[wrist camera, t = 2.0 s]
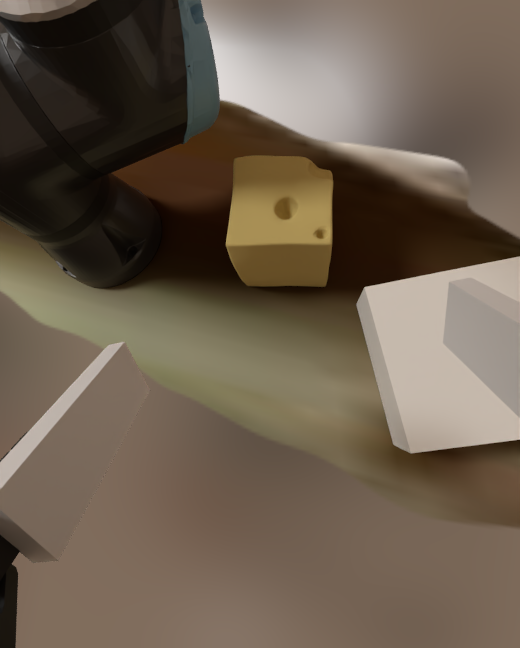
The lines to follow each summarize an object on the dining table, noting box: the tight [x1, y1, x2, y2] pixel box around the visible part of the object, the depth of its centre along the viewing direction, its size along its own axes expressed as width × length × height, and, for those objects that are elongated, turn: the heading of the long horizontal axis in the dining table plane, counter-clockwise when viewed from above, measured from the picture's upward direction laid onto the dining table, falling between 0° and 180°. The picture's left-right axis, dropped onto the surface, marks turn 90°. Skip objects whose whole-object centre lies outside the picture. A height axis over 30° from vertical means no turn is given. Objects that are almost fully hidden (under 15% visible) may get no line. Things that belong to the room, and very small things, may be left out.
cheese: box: [226, 156, 333, 287], centre depth 31 cm, size 10×11×10 cm
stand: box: [356, 257, 520, 453], centre depth 27 cm, size 15×15×5 cm
